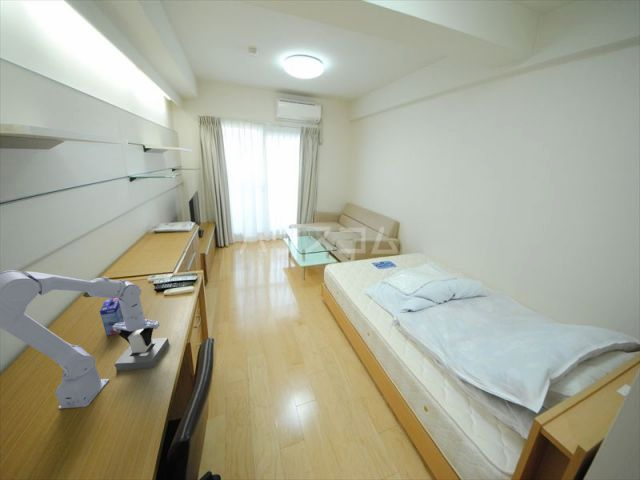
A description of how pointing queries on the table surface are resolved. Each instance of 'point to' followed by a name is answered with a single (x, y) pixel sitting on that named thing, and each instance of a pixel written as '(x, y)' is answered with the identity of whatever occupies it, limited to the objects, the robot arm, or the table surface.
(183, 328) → the table surface
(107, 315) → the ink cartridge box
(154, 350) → the block
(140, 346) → the brick
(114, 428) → the table surface
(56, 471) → the table surface
